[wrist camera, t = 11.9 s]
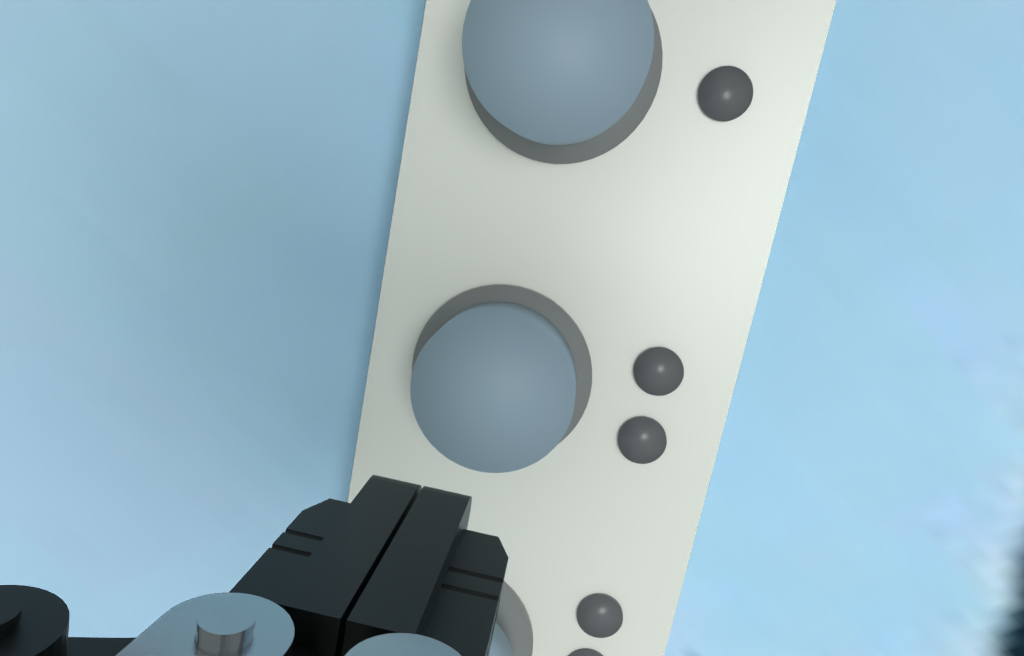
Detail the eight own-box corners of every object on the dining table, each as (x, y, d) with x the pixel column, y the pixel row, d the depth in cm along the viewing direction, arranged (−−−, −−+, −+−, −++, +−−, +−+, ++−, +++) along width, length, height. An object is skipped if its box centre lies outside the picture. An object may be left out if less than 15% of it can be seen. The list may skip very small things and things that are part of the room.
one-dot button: (666, -22, 21) (674, -43, 19) (627, 159, 22) (630, 157, 20) (490, -53, 21) (480, -77, 19) (459, 127, 22) (446, 122, 20)
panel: (823, -38, 24) (858, -72, 21) (622, 743, 31) (625, 808, 27) (465, -100, 25) (446, -142, 22) (339, 673, 31) (309, 729, 28)
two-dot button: (591, 319, 24) (590, 331, 22) (559, 465, 25) (556, 488, 23) (438, 287, 24) (424, 296, 22) (413, 432, 25) (398, 453, 23)
